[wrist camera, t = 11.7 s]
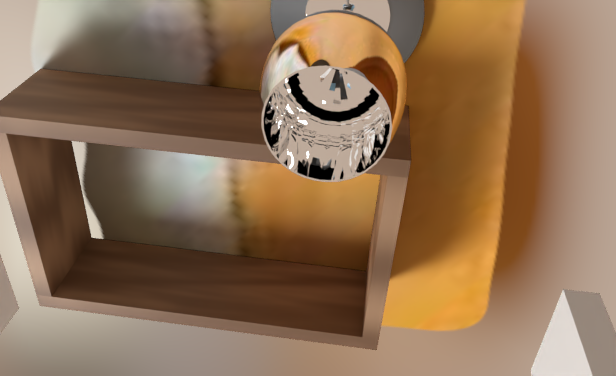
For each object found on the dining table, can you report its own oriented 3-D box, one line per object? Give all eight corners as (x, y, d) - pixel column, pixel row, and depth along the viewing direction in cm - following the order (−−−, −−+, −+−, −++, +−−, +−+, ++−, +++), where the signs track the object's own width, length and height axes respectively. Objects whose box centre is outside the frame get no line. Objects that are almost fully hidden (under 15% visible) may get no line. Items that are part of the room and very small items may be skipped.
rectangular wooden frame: (40, 68, 35) (-18, 114, 30) (408, 106, 33) (411, 160, 28) (80, 246, 43) (39, 305, 38) (378, 283, 41) (376, 349, 36)
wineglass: (278, -24, 29) (220, 71, 20) (389, -56, 28) (388, 29, 18) (311, 79, 32) (275, 206, 23) (413, 54, 31) (423, 179, 21)
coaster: (273, -74, 29) (271, -72, 28) (436, -61, 28) (437, -58, 28) (271, 76, 33) (269, 80, 33) (411, 90, 33) (411, 94, 32)
